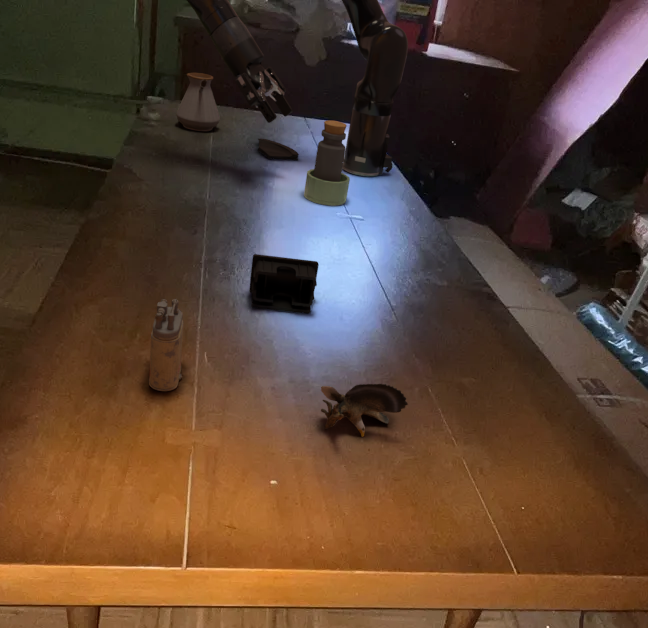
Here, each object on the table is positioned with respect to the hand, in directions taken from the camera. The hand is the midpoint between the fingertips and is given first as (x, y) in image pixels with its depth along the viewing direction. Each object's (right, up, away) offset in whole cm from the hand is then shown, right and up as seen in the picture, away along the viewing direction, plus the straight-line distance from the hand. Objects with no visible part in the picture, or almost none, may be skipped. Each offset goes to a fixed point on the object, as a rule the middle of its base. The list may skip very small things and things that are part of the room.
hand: (281, 117), depth 154 cm
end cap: (+1, -44, -40) cm, 60 cm away
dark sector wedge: (-2, +2, +29) cm, 29 cm away
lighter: (-12, -57, -63) cm, 86 cm away
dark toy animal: (+11, -63, -66) cm, 92 cm away
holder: (+9, -16, +5) cm, 19 cm away
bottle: (+9, -15, +5) cm, 18 cm away
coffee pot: (-23, +9, +35) cm, 43 cm away
